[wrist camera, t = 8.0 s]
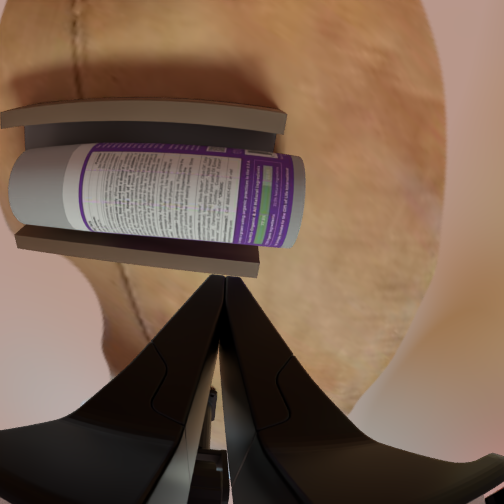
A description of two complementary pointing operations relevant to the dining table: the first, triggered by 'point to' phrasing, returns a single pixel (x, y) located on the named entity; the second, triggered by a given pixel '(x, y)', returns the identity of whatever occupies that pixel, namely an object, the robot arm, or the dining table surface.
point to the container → (162, 191)
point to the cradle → (146, 131)
